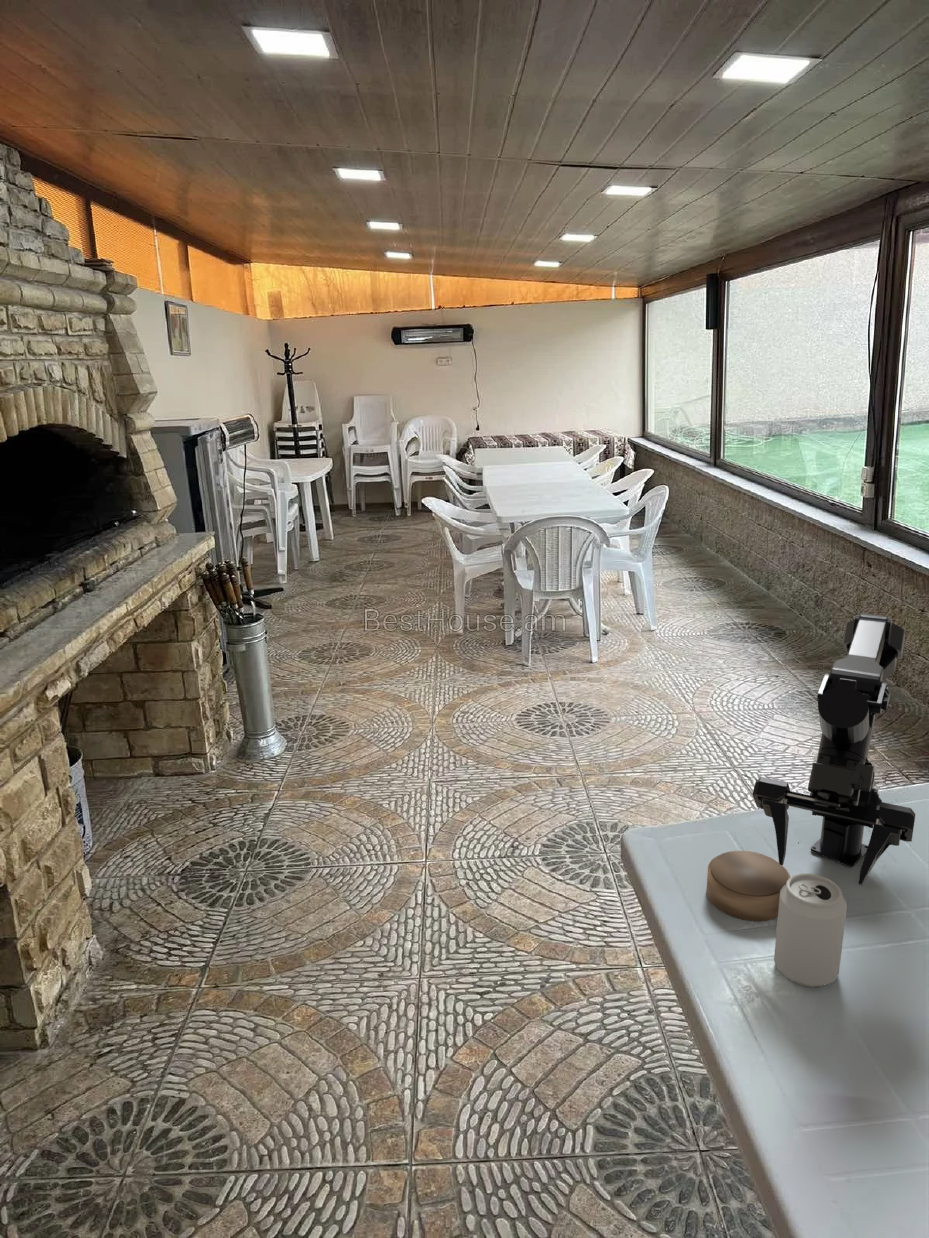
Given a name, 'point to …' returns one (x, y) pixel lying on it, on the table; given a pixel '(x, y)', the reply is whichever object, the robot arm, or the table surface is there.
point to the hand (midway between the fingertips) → (819, 874)
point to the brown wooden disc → (746, 885)
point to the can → (810, 930)
